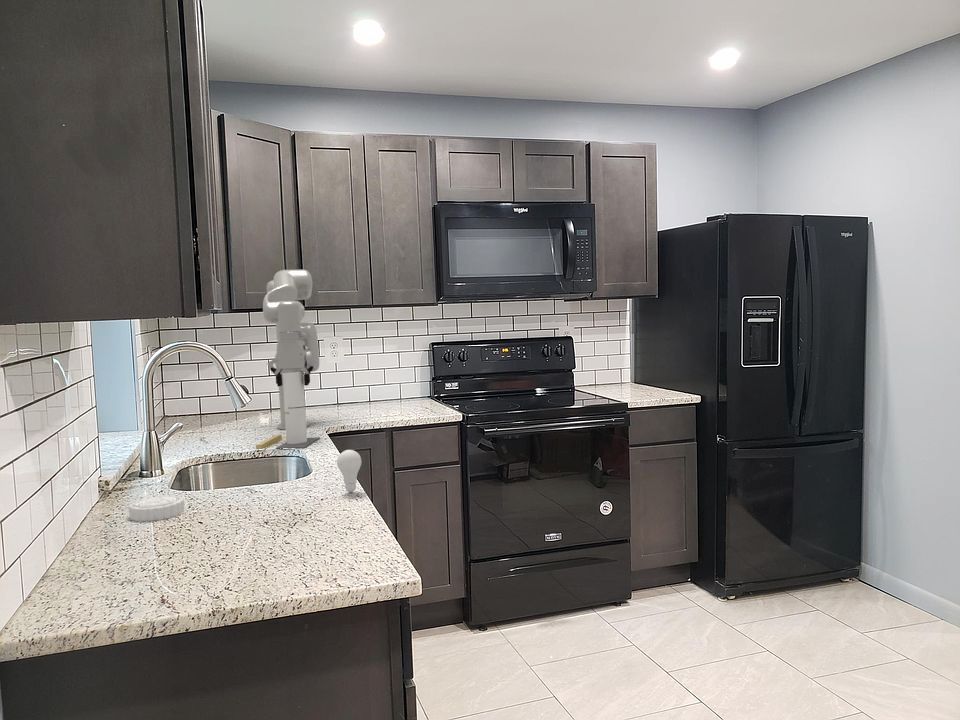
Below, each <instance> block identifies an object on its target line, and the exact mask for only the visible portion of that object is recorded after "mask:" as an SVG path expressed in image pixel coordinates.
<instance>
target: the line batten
mask: <svg viewBox="0 0 960 720" xmlns="http://www.w3.org/2000/svg"><path fill="white" fill-rule="evenodd" d="M280 440H281V441H282V440H283V435H282V433H281V434H275V435H272V436H271V437H269V438H266V439H265V440H262V441H261V442H259V443H256V444H255V450H256V449H263V448H266V447H268V446H269V447H271V446H273V445H275V444H277V443H278V441H279V442H281V441H280ZM276 442H277V443H276ZM274 443H275V444H274ZM272 444H273V445H272ZM270 445H271V446H270ZM269 447H268V448H269ZM266 449H267V448H266Z"/></svg>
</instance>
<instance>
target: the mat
mask: <svg viewBox="0 0 960 720" xmlns="http://www.w3.org/2000/svg"><path fill="white" fill-rule="evenodd" d="M320 439H321V437H320V436H319V437H307V442H305V443H300V444H287V442H286V441H285V442H284V443H282V444H280V445H278V446H277V447H275V450H276V449H280V448H281V450H284V449H283V448H305V447H306V448H308V447H309V445H310V446H311V445H313V444H315V443H316V442H318V441H319V440H320ZM307 446H308V447H307ZM306 448H305V449H306Z"/></svg>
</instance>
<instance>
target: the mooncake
mask: <svg viewBox="0 0 960 720" xmlns="http://www.w3.org/2000/svg"><path fill="white" fill-rule="evenodd" d="M184 512H185V502H184V497H182V496H177V495H173V494H167V495H166V494H164V495H163V494H162V495H156V496H149V497H145V498H141V499H138V500H137V501H134V502H132V503H130V504H129V506H128V514H129V517H128V518H129V520H131V521H134V522H153V521H162V520H165V519H170V518H173V517H176V516H179V515H181V514H183V513H184Z"/></svg>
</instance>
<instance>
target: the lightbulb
mask: <svg viewBox="0 0 960 720" xmlns="http://www.w3.org/2000/svg"><path fill="white" fill-rule="evenodd" d="M336 466H337V468H338V470H339V471H340V473H341V475H342V478H343V483H344V487H345V491H346V492H348V493H349V494H351V493H354V492H355V491H356V490H357V485H356V484H357V479H358V478H357V477H358V473H359V470H360V468H361V466H362V457H361V455H360V454H359V453H358V452H357V451H355V450H353V449H345V450H343V451H342V452H340V454H339V455H338V457H337V461H336Z"/></svg>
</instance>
